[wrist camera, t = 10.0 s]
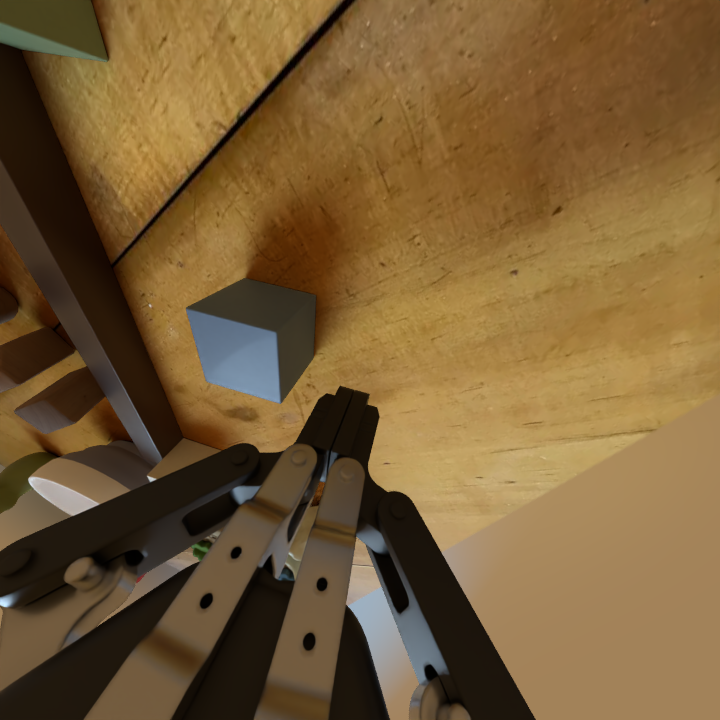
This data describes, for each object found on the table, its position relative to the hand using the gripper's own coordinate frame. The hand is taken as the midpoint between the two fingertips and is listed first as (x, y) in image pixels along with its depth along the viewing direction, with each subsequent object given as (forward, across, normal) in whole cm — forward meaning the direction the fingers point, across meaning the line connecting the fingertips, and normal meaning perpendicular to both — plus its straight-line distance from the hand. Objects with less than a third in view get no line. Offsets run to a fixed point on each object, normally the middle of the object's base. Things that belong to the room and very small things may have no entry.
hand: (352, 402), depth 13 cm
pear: (+6, +53, +40) cm, 66 cm away
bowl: (+6, +30, +29) cm, 42 cm away
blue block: (+6, +7, 0) cm, 9 cm away
